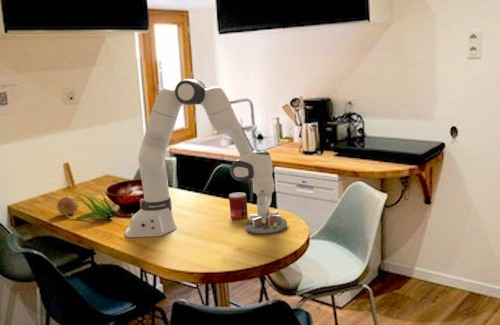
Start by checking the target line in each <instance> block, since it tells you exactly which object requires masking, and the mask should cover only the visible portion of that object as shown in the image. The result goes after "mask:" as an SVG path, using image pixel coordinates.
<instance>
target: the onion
mask: <svg viewBox="0 0 500 325" xmlns="http://www.w3.org/2000/svg"><path fill="white" fill-rule="evenodd" d="M65 197H66V198H65ZM69 198H71V199H69ZM73 199H75V198H74V197H73V196H72V195H69V194H68V195H67V194H66V195H64V196H62V197H61V198H60V199H59V200H58V201H57V204H56V208H57V210H58V212H59V213H60V214H61V215H64V216H66V215H65V214H67V215H69V216H71V214H72V215H73V214H74V213H75V212H76V211H77V210H78V206H79V205H78V201H77V200H73ZM63 213H65V214H63Z"/></svg>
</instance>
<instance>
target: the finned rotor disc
mask: <svg viewBox="0 0 500 325" xmlns="http://www.w3.org/2000/svg"><path fill="white" fill-rule="evenodd" d="M249 220H250V223H253V227H257V226H260V225H267V227H268V228H271V223H272V224H274V223H276V224H282V215H279V211H277V210H275V211H272V212H269V214H266V223H262V219H261V215H258V214H255V213H254V214H249Z"/></svg>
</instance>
